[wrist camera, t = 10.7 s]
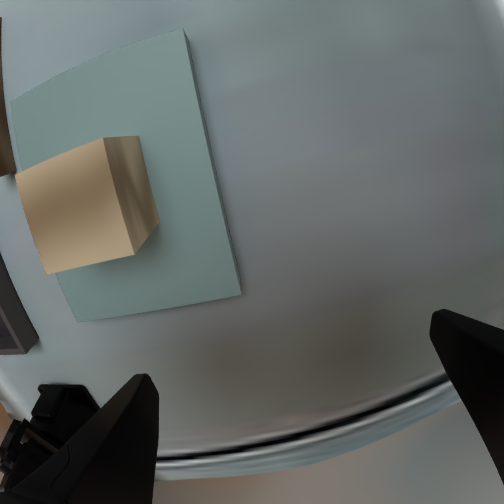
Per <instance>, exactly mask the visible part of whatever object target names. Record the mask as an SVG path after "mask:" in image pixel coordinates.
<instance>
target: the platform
mask: <svg viewBox="0 0 504 504" xmlns="http://www.w3.org/2000/svg"><path fill="white" fill-rule="evenodd" d="M10 106H11V113H12V120H13V126H14V132H15V138H16V143H17V149H18V153H19V158H20V163H21V167H22V171H24V170H26V169H28V168H30V167H33V166H35V165H37V164H39V163H41V162H43V161H46V160H48V159H50V158H53V157H55V156H57V155H60V154H62V153H64V152H67V151H69V150H72V149H74V148H77V147H79V146H82V145H85V144H87V143H90V142H92V141H95V140H98V139H101V138H106V137H121V136H139V139H140V144H141V148H142V152H143V157H144V161H145V165H146V169H147V174H148V178H149V182H150V186H151V190H152V193H153V197H154V201H155V205H156V209H157V212H158V216H159V220H160V222H159V223H158V225H157V226H156V227H155V229H154V230H153V231H152V232H151V234H150V235H149V236H148V238H147V239H146V240H145V242H144V243H143V244H142V245H141V247H140V248H139V249H138V251H137V252H136V253H135V255H131V256H126V257H122V258H117V259H113V260H108V261H104V262H99V263H95V264H91V265H86V266H82V267H77V268H73V269H69V270H64V271H60V272H56V273H55V274H56V276H57V279H58V281H59V284H60V286H61V288H62V291H63V293H64V295H65V297H66V300H67V302H68V304H69V306H70V308H71V310H72V312H73V315H74V317H75V319H76V321H77V322H84V321H91V320H98V319H105V318H112V317H118V316H125V315H131V314H137V313H144V312H150V311H156V310H162V309H168V308H173V307H179V306H185V305H191V304H196V303H202V302H207V301H213V300H218V299H223V298H229V297H234V296H239V295H242V293H241V279H240V275H239V271H238V267H237V262H236V258H235V254H234V249H233V245H232V241H231V236H230V232H229V228H228V223H227V219H226V215H225V210H224V206H223V201H222V197H221V192H220V188H219V183H218V179H217V174H216V170H215V165H214V161H213V156H212V152H211V147H210V142H209V138H208V133H207V128H206V124H205V119H204V114H203V110H202V105H201V100H200V95H199V91H198V86H197V81H196V76H195V71H194V66H193V61H192V56H191V51H190V46H189V41H188V38H187V36H186V34H185V32H184V30H183V29H179V30H175V31H172V32H168V33H165V34H161V35H158V36H154V37H151V38H148V39H145V40H142V41H139V42H136V43H133V44H130V45H127V46H124V47H122V48H119V49H116V50H114V51H111V52H108V53H106V54H103V55H101V56H99V57H96V58H94V59H91V60H89V61H87V62H85V63H82V64H80V65H78V66H76V67H74V68H72V69H69V70H67V71H65V72H63V73H61V74H59V75H57V76H55V77H53V78H51V79H49V80H48V81H46V82H44V83H42V84H40V85H38V86H37V87H35V88H33V89H31V90H30V91H28V92H26V93H24V94H23V95H21V96H19V97H18V98H16V99H15V100H13V101H11V102H10Z"/></svg>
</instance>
